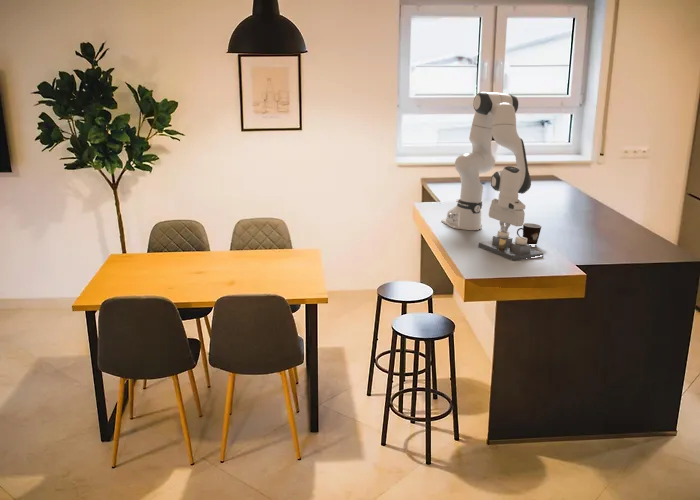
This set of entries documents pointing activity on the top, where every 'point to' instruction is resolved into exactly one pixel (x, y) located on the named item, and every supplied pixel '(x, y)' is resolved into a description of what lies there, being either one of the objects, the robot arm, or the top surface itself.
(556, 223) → the top surface
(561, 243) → the top surface
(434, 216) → the top surface
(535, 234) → the coffee mug
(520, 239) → the knob
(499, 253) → the mount plate
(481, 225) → the robot arm
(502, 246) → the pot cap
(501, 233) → the knob
